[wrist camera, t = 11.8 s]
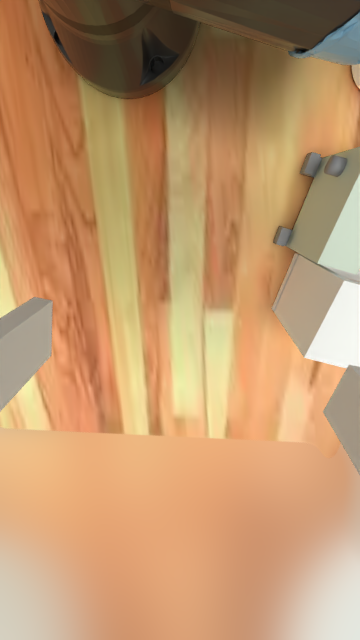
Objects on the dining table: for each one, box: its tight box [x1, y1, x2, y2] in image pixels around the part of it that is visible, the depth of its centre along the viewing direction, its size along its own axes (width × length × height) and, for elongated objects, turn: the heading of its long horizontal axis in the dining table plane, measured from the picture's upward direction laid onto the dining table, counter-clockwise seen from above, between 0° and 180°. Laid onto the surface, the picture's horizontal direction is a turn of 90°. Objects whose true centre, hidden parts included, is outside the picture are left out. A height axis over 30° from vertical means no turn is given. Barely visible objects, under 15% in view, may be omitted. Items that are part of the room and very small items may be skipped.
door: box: [286, 147, 360, 275], centre depth 29 cm, size 10×5×10 cm, turn 165°
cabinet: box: [271, 152, 360, 368], centre depth 30 cm, size 18×15×13 cm
